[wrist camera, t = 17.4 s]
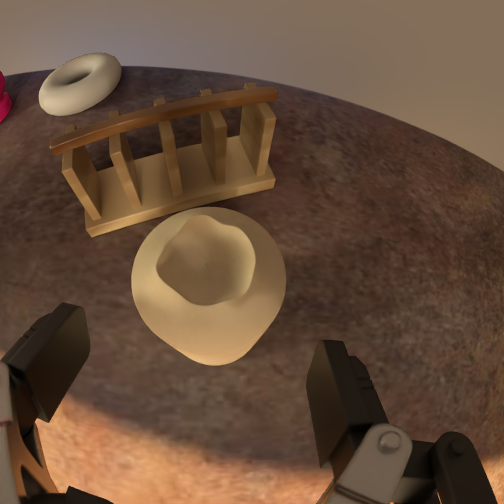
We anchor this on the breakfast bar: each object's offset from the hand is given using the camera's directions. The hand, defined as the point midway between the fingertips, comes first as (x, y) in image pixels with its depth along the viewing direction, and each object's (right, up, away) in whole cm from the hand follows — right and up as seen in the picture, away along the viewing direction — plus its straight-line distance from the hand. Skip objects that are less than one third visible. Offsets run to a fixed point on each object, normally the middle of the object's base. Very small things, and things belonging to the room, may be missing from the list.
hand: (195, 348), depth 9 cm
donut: (-17, +21, +17) cm, 32 cm away
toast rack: (-4, +8, +13) cm, 16 cm away
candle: (-1, -1, +9) cm, 9 cm away
